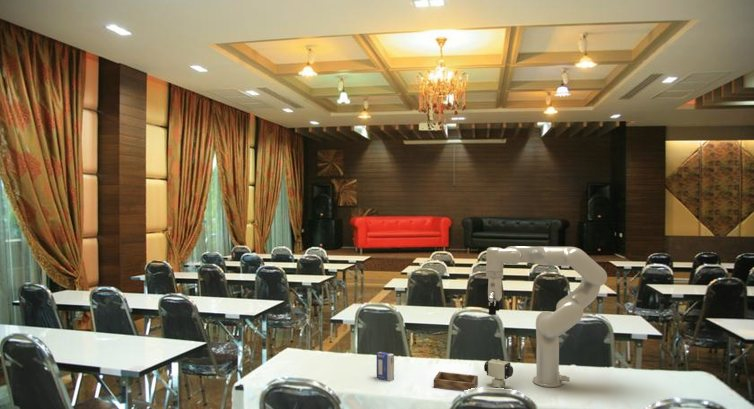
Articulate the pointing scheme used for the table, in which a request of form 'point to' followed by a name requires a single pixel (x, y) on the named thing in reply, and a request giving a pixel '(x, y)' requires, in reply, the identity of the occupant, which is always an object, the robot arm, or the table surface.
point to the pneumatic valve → (498, 371)
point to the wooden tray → (455, 381)
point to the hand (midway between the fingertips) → (494, 312)
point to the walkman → (385, 366)
